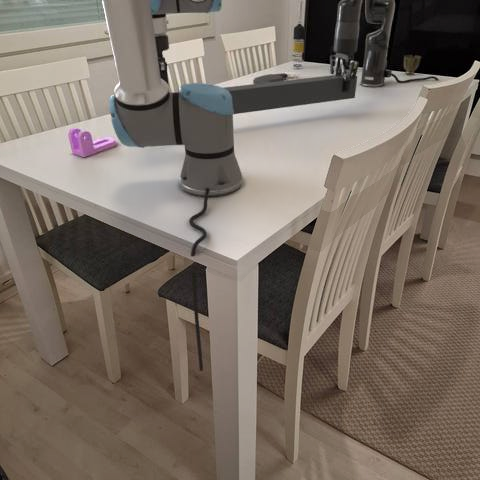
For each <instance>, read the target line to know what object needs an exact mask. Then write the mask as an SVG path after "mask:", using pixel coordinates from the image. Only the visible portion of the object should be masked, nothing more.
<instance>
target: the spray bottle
mask: <svg viewBox="0 0 480 480" xmlns="http://www.w3.org/2000/svg"><path fill="white" fill-rule="evenodd" d="M296 77H300V74H299V73H296V72H289V71H285V72H284V73H269V74H264V75H260V76H257V77H254V78H253V80H252V83H253V84H260V83H269V82H278V81H285V80H286V79H287V78H296Z"/></svg>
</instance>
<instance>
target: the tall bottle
mask: <svg viewBox="0 0 480 480" xmlns="http://www.w3.org/2000/svg"><path fill="white" fill-rule="evenodd" d="M303 2H304V1H302V0H299V1H298V21H301V20H302V9H303ZM305 31H306V28H305V26H304V25H302V24H301V23H297V25H295V26H293V38H292V40H293V41H292V53H293V54H292V57H295V58H294V59H291V62H292V63H295V64H293V67H295V68H296V69H299V68H300V67H302V66H303V65H302V64H299V63H304V59H301V57H304V55H303V53H305V51H304V50H305V38H306V37H305V33H306V32H305ZM295 54H301V55H295Z"/></svg>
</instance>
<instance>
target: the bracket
mask: <svg viewBox="0 0 480 480" xmlns="http://www.w3.org/2000/svg"><path fill="white" fill-rule="evenodd" d="M67 136H68V141H69V146H70V150H71V153H72V154H73V155H77V156H79V157H82V158H87V157H90V156H92V155H95V154H97V153H99V152H102V151H105V150H108V149H111V148H113V147H115V146H117V140H116V138H115V137H108V136H107V137H101V138H98V139H95V140H93V136H92V134H91V132H89V131H86V130H81V129H80V128H77V127H72V128H70V129H69V130H68V133H67Z"/></svg>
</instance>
